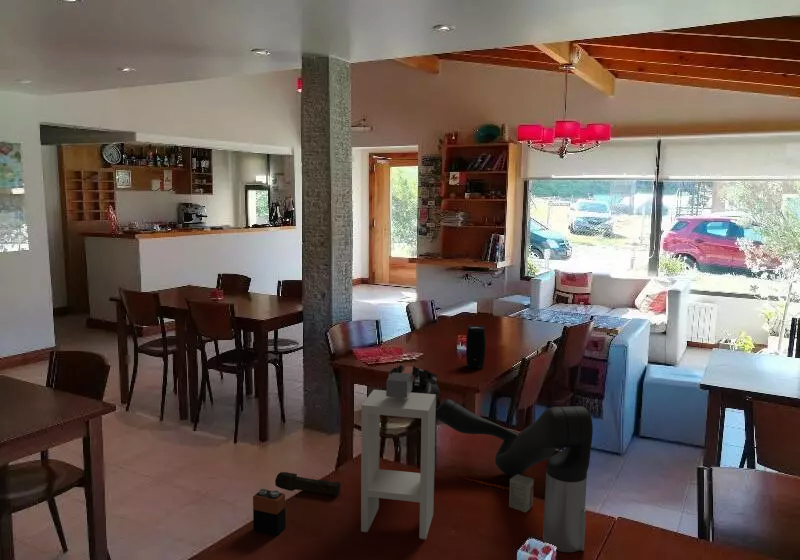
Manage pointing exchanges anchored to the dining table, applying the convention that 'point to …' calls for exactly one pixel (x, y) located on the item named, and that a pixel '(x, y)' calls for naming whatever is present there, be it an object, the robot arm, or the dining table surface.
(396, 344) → the dining table surface
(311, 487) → the dark green flashlight
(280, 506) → the battery
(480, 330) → the portable speaker
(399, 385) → the hammer
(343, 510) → the dining table surface
